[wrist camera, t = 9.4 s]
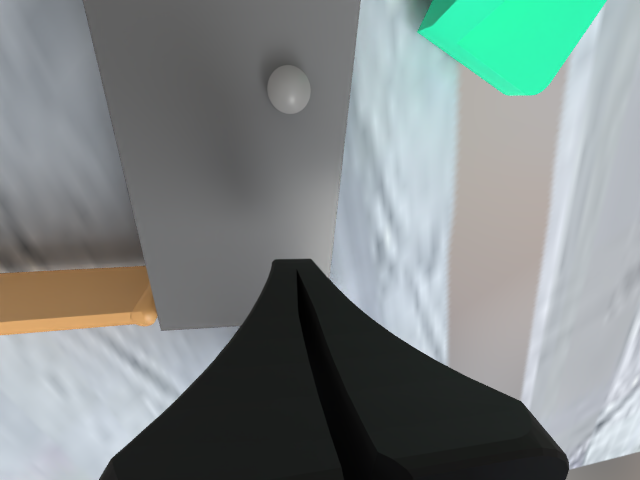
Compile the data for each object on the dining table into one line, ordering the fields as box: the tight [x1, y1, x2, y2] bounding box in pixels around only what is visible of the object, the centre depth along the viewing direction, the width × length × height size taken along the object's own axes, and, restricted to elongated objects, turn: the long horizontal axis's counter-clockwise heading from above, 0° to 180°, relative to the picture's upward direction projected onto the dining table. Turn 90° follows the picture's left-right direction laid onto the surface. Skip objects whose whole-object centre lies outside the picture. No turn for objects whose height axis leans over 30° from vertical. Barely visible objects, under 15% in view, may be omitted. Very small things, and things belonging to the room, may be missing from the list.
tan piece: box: [0, 266, 158, 335], centre depth 16 cm, size 13×2×4 cm, turn 88°
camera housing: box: [83, 0, 361, 331], centre depth 14 cm, size 17×9×6 cm, turn 175°
